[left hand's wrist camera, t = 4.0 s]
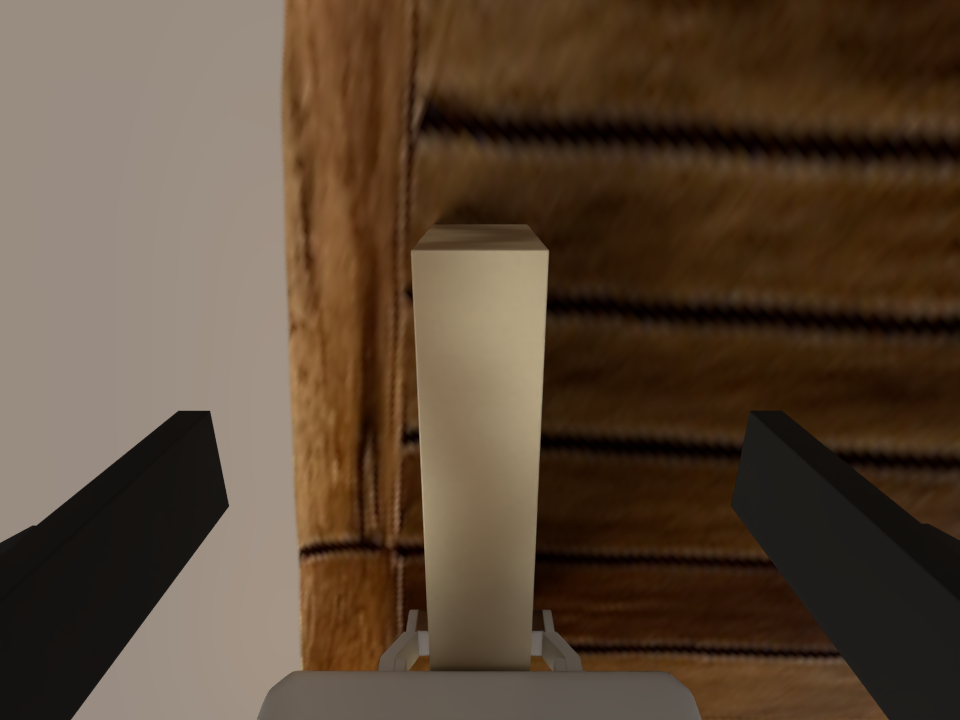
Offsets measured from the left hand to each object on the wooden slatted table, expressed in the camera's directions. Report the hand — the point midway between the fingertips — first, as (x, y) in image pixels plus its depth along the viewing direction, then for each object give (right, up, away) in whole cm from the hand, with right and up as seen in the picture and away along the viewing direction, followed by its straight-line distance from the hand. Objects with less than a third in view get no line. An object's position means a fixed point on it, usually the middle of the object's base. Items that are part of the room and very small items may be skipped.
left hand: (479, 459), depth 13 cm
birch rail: (0, -3, +19) cm, 19 cm away
